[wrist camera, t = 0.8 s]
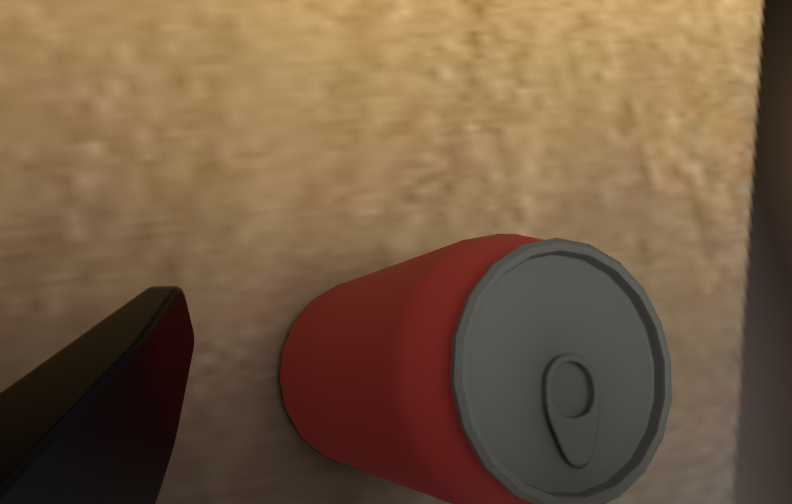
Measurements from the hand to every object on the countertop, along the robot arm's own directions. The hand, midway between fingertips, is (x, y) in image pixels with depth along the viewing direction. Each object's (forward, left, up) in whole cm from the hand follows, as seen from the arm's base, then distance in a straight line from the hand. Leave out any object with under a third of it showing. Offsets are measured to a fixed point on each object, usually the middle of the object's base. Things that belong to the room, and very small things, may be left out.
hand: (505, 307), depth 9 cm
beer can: (+3, -3, -15) cm, 16 cm away
